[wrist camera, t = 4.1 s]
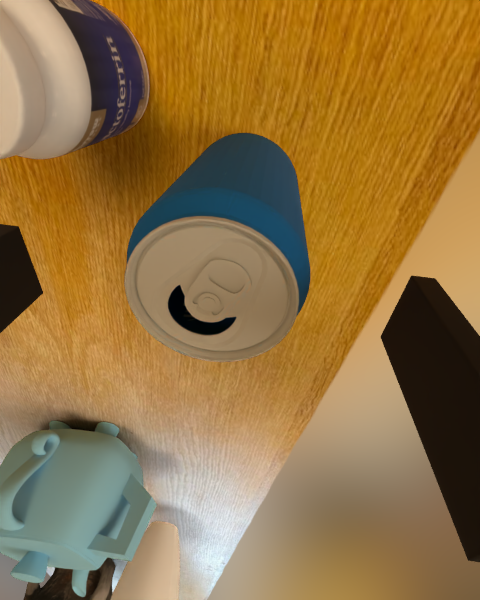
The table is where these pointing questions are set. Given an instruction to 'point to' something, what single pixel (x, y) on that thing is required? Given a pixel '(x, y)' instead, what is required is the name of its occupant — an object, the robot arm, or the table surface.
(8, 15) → the pill bottle
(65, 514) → the teapot
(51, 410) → the table surface
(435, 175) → the table surface
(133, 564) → the cup
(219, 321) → the beverage can
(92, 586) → the brown clay pot
